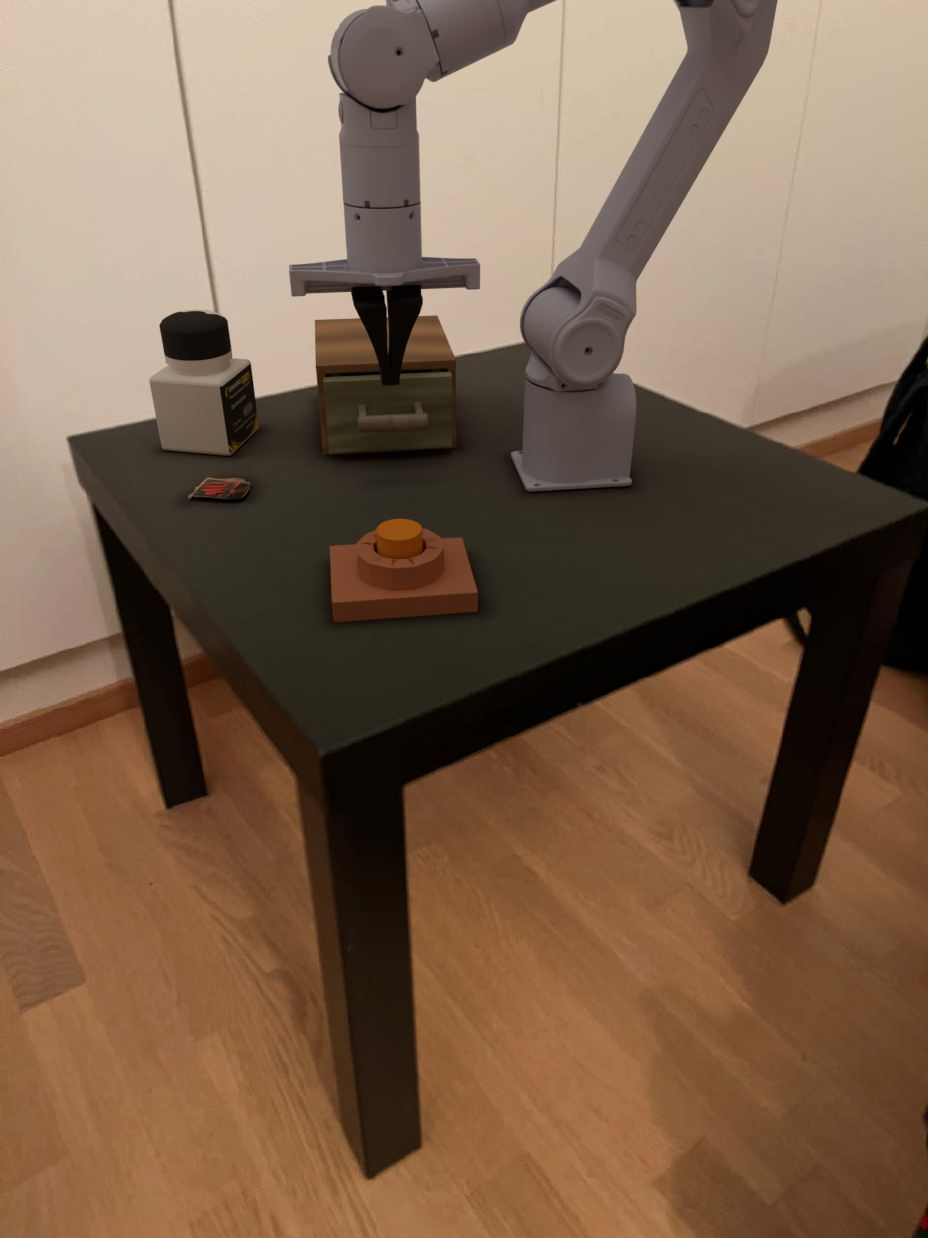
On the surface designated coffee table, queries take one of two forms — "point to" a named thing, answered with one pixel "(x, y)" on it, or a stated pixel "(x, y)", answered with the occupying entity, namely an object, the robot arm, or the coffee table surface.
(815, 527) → the coffee table surface
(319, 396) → the cabinet
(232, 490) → the matchbox
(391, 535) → the button
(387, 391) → the drawer
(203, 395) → the medicine bottle
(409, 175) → the robot arm
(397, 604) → the button box
